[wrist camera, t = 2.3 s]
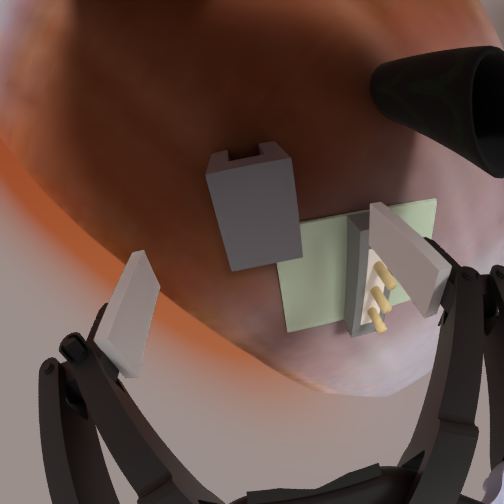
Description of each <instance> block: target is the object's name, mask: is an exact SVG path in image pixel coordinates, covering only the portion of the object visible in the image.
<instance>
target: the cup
mask: <svg viewBox="0 0 504 504" xmlns="http://www.w3.org/2000/svg"><path fill="white" fill-rule="evenodd" d="M370 89H371V96H372V98H373V101H374V103H375V105H376V107H377V108H378V110H379V111H380V112H381V113H382V114H383V115H384V116H386V117H387V118H389V119H391V120H393V121H396V122H398V123H400V124H402V125H404V126H407V127H409V128H411V129H413V130H415V131H417V132H419V133H421V134H423V135H425V136H427V137H429V138H431V139H433V140H434V141H436V142H438V143H440V144H442V145H444V146H445V147H447V148H449V149H451V150H452V151H454V152H456V153H457V154H459V155H461V156H462V157H464V158H465V159H467V160H469V161H470V162H472V163H473V164H475V165H476V166H478V167H479V168H481V169H482V170H484V171H485V172H487V173H488V174H490V175H491V176H493V177H495V178H504V51H503V50H501V49H500V48H498V47H494V46H478V47H467V48H458V49H451V50H444V51H437V52H431V53H426V54H421V55H416V56H411V57H406V58H402V59H398V60H394V61H390V62H386V63H384V64H381V65H380V66H379V67H378V68H376V70H375V71H374V73H373V75H372V78H371V85H370Z"/></svg>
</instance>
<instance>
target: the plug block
mask: <svg viewBox="0 0 504 504" xmlns="http://www.w3.org/2000/svg"><path fill="white" fill-rule="evenodd" d="M258 146H259V151H260V155H258V156H253V157H247V158H242V159H238V160H233V161H230V159H229V154H228V150H224V151H220V152H215V153H211V156H210V159H209V163H208V166H207V170H206V174H205V176H206V180H207V184H208V188H209V191H210V195H211V199H212V203H213V206H214V210H215V214H216V217H217V221H218V225H219V228H220V232H221V236H222V239H223V243H224V246H225V250H226V253H227V257H228V261H229V264H230V268H231V271H232V272H233V271H238V270H243V269H248V268H253V267H258V266H263V265H268V264H273V263H278V262H283V261H288V260H293V259H298V258H303V252H302V241H301V231H300V222H299V213H298V204H297V196H296V188H295V180H294V173H293V165H292V158H291V157H290V156H289V155H288V154H287V153H286V152H285V151H284V150H283V149H282V148H281V147H280V146H279V145H278V144H277V143H276V142H275V141H270V142H265V143H259V144H258Z"/></svg>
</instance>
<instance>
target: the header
mask: <svg viewBox="0 0 504 504" xmlns="http://www.w3.org/2000/svg"><path fill="white" fill-rule="evenodd" d="M436 205H437V199H435V198H433V199H427V200H421V201H415V202H409V203H403V204H397V205H391V206H387V207H388V208H389V209H391V210H392V211H393V212H394V213H395V214H397V215H398V216H399V217H400V218H401V219H402V220H404V221H405V222H406V223H407V224H408V225H409V226H410V227H412V228H413V229H414V230H415V231H416V232H417V233H418V234H419V235H420V236H421V237H427V238H429V239H431V237H432V232H433V226H434V219H435V212H436ZM369 224H370V209H368V210H362V211H356V212H351V213H345V214H340V215H334V216H329V217H324V218H318V219H313V220H308V221H302V222H300V231H301V241H302V252H303V258H298V259H293V260H288V261H283V262H278V263H277V269H278V275H279V282H280V288H281V294H282V301H283V308H284V314H285V321H286V328H287V333H288V332H293V331H298V330H302V329H307V328H311V327H315V326H320V325H324V324H328V323H332V322H336V321H340V320H344V322H345V324H346V327H347V329H348V331H349V334H350V336H351V338H353V337H357V336H360V335H364V334H367V333H370V332H374V331H377V332H378V334H383V333H384V332H385V331H386V330H387V328H386V326H385V325H384V318H385V314H388V313H389V312H390V311H391V310H392V307H391V306H393V305H396V304H399V303H402V302H405V301H408V300H411V298H410V297H409V296H408V294H407V293H406V292H405V290H404V289H403V287H402V286H401V285H400V283H399V282H398V281H397V279H396V278H395V277H394V276H393V274H392V273H391V272H390V270H389V269H388V268H387V266H386V265H385V264H384V263H383V261H382V260H381V259H380V258H379V256H378V255H377V254H376V253H375V251H374V250H373V249H372V248H371V247H370V245H369Z"/></svg>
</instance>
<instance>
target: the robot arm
mask: <svg viewBox="0 0 504 504" xmlns="http://www.w3.org/2000/svg"><path fill="white" fill-rule="evenodd" d="M369 245H370V247H371V248H372V249H373V250H374V251H375V253H376V254H377V255H378V256H379V258H380V259H381V260H382V261H383V263H384V264H385V265H386V266H387V268H388V269H389V270H390V272H391V273H392V274H393V276H394V277H395V278H396V279H397V281H398V282H399V283H400V285H401V286H402V287H403V289H404V290H405V292H406V293H407V294H408V296H409V297H410V298H411V300H412V301H413V303H414V304H415V305H416V307H417V308H418V310H419V311H420V313H421V314H422V315H423V317H424V318H427V317H430V316H432V315H435V314H437V311H438V309H439V306H440V304H441V306H442V307H443V308H444V311H443V314H442V316H441V319H440V321H439V324H438V326H440V325H441V327H440V334H439V340H438V346H437V351H436V356H435V361H434V366H433V370H432V375H431V379H430V383H429V386H428V390H427V394H426V397H425V401H424V404H423V407H422V411H421V414H420V417H419V420H418V423H417V426H416V429H415V431H414V434H413V437H412V439H411V442H410V444H409V446H408V447H407V449H406V450H405V452H404V453H403V455H402V457H401V459H400V461H399V463H398V465H397V467H395V466H382V467H380V466H379V463H377V464H374V465H371V466H368V467H365V468H363V469H359V470H356V471H353V472H350V473H347V474H345V475H344V476H342V477H340V478H338V479H336V480H334V481H332V482H330V483H328V484H326V485H324V486H322V487H320V488H317V489H283V488H278V489H271V490H261V491H251V492H247V496H244V497H242V498H239V499H237V500H235V501H233V502H231V503H229V504H504V267H503V266H500V265H494V266H493V267H492V269H491V271H490V274H486V275H480V274H479V273H478V272H477V271H476V270H475V269H473V268H471V267H466V266H463V267H461V266H460V265H459V264H458V263H457V262H456V261H455V260H454V259H453V258H452V257H451V256H450V255H449V254H448V253H447V252H446V253H445V251H444V250H443V249H442V248H440V246H439V245H438V244H437V243H436V242H435V241H433V240H431V239H429V238H427V237H421V236H420V235H419V234H418V233H417V232H416V231H415V230H414V229H413V228H412V227H410V226H409V225H408V224H407V223H406V222H405V221H404V220H402V219H401V218H400V217H399V216H398V215H397V214H395V213H394V212H393V211H392V210H391V209H389V208H388V207H387V206H386V205H385V204H383V203H382V202H376V203H370V224H369ZM159 291H160V285H159V282H158V280H157V278H156V276H155V274H154V272H153V269H152V267H151V265H150V263H149V261H148V258H147V256H146V254H145V251H144V250H141V251H136V252H132V254H131V256H130V258H129V260H128V262H127V264H126V266H125V268H124V271H123V273H122V275H121V277H120V279H119V281H118V283H117V285H116V287H115V290H114V292H113V294H112V296H111V299H110V301H109V303H105V304H104V305H103V306H102V308H101V309H100V310H99V312H98V314H97V316H96V320H95V321H94V323H93V326H92V328H91V331H90V333H89V336H88V338H87V341H85V340H84V338H83V337H82V336H81V334H80V333H77V332H74V333H71V334H69V335H67V336H66V337H65V338H64V339H63V341H62V342H61V344H60V346H59V352H60V353H61V354H62V355H63V356H64V357H65V358H66V360H67V361H66V362H63V363H61V364H60V363H59V362H58V361H57V359H56V358H53V357H51V358H48V359H47V360H45V361H44V362H43V363H42V365H41V367H40V370H39V424H40V437H41V446H42V454H43V461H44V467H45V473H46V478H47V483H48V488H49V492H50V496H51V500H52V504H120V503H119V501H118V498H117V496H116V493H115V490H114V488H113V485H112V482H111V479H110V476H109V473H108V470H107V467H106V464H105V461H104V457H103V453H102V450H101V446H100V442H99V438H98V435H97V430H96V427H97V429H98V431H99V433H100V434H101V436H102V438H103V440H104V442H105V444H106V446H107V447H108V449H109V451H110V453H111V454H112V456H113V458H114V459H115V461H116V463H117V464H118V466H119V468H120V469H121V471H122V472H123V474H124V475H125V477H126V478H127V480H128V481H129V483H130V484H131V486H132V487H133V489H134V490H135V491H136V493H137V495H138V497H139V499H138V501H137V503H138V504H225V503H224V502H223V501H222V500H220V499H219V498H218V497H217V496H216V495H214V494H213V493H212V492H210V491H209V490H207V489H206V488H205V487H204V486H202V484H201V483H199V482H198V480H196V478H195V477H194V476H193V475H192V474H191V473H190V472H189V471H188V470H187V469H186V468H185V467H184V466H183V464H182V463H181V462H180V461H179V460H178V459H177V458H176V456H175V455H174V454H173V453H172V452H171V450H170V449H169V448H168V447H167V446H166V444H165V443H164V442H163V441H162V440H161V438H160V437H159V436H158V434H157V433H156V432H155V431H154V429H153V428H152V427H151V425H150V424H149V422H148V421H147V420H146V418H145V417H144V416H143V414H142V413H141V411H140V410H139V409H138V407H137V406H136V404H135V403H134V401H133V400H132V398H131V397H130V395H129V394H128V392H127V390H126V389H125V387H124V386H123V384H122V382H121V381H120V380H119V379H118V374H119V371H120V373H121V374H122V375H123V376H124V377H125V378H139V376H140V371H141V366H142V361H143V356H144V352H145V347H146V342H147V338H148V334H149V330H150V326H151V322H152V318H153V314H154V310H155V306H156V302H157V298H158V294H159ZM498 310H499V312H498ZM483 354H484V360H485V366H486V374H487V382H488V392H489V405H490V464H491V473H490V475H489V477H488V478H487V479H486V480H485V481H484V483H483V489H484V491H486V493H485V496H484V498H483V500H482V501H481V502H480V501H477V500H474V499H472V498H469V497H467V496H464V495H462V494H460V493H461V491H462V488H463V486H464V483H465V480H466V477H467V474H468V471H469V468H470V465H471V462H472V458H473V455H474V451H475V448H476V444H477V440H478V434H479V430H478V427H477V426H475V424H474V421H475V414H476V409H477V404H478V398H479V391H480V383H481V374H482V361H483ZM95 425H96V426H95Z"/></svg>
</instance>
